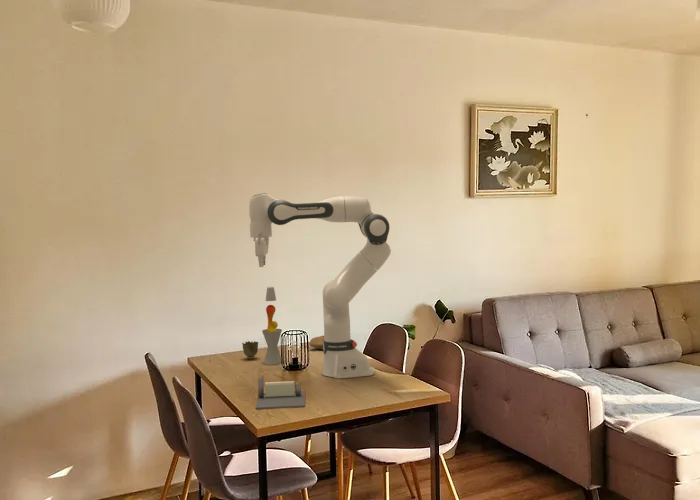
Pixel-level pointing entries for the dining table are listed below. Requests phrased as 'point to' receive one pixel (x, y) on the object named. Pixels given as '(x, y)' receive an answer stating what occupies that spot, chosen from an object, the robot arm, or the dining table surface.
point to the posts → (261, 388)
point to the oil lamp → (317, 342)
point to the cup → (250, 349)
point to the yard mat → (281, 401)
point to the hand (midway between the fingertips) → (262, 266)
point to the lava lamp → (271, 332)
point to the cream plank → (279, 388)
